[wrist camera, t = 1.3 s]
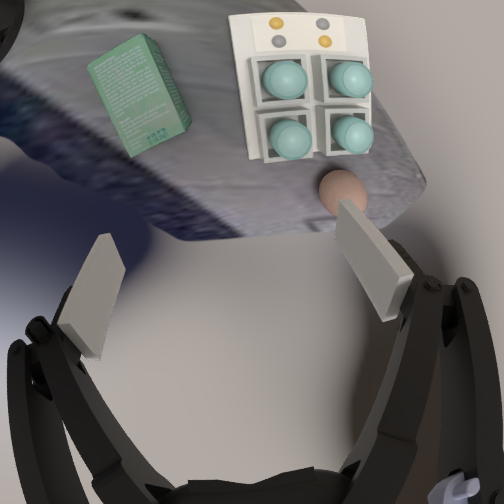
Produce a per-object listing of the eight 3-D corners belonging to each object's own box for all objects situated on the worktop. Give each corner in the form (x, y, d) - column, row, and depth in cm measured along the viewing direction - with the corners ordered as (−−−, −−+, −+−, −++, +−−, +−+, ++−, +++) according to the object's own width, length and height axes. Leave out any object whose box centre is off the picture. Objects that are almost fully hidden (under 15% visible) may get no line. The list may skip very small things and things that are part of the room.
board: (227, 18, 24) (230, 9, 20) (357, 20, 25) (378, 15, 20) (247, 155, 36) (253, 168, 32) (364, 144, 37) (382, 155, 32)
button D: (331, 115, 29) (341, 119, 26) (362, 114, 29) (374, 119, 27) (332, 148, 32) (342, 155, 29) (361, 146, 32) (373, 153, 29)
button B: (266, 120, 29) (272, 124, 26) (303, 116, 29) (311, 121, 26) (270, 154, 31) (275, 162, 29) (305, 150, 32) (313, 158, 29)
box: (155, 37, 24) (140, 29, 18) (193, 121, 32) (188, 132, 27) (106, 64, 25) (82, 65, 19) (145, 144, 33) (130, 161, 27)
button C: (327, 61, 25) (338, 60, 22) (359, 63, 25) (373, 63, 22) (329, 95, 27) (341, 98, 25) (361, 95, 28) (374, 98, 25)
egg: (313, 162, 38) (337, 186, 31) (352, 162, 39) (383, 186, 31) (310, 201, 42) (330, 232, 35) (347, 200, 43) (373, 229, 35)
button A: (259, 63, 25) (264, 62, 22) (297, 61, 25) (306, 60, 22) (264, 99, 27) (269, 101, 25) (301, 96, 27) (310, 98, 25)
